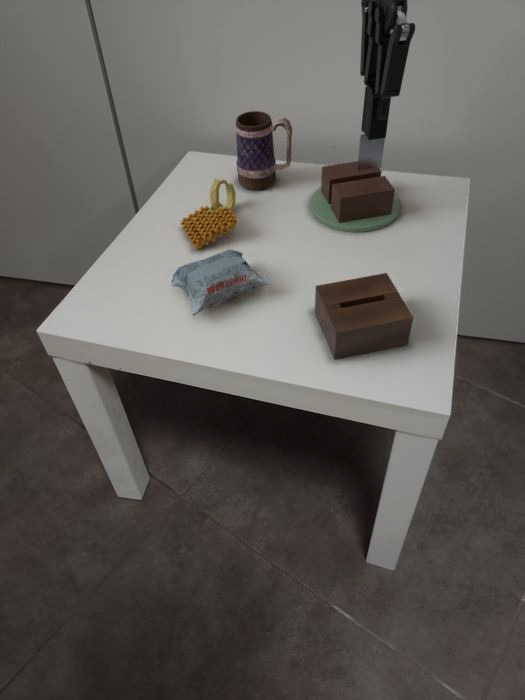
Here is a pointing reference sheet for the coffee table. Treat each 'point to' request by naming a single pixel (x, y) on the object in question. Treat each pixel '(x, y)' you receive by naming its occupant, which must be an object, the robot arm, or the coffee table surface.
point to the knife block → (362, 315)
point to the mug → (258, 149)
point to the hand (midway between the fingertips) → (373, 133)
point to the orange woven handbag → (211, 217)
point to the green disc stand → (354, 199)
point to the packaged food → (217, 279)
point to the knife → (369, 142)
